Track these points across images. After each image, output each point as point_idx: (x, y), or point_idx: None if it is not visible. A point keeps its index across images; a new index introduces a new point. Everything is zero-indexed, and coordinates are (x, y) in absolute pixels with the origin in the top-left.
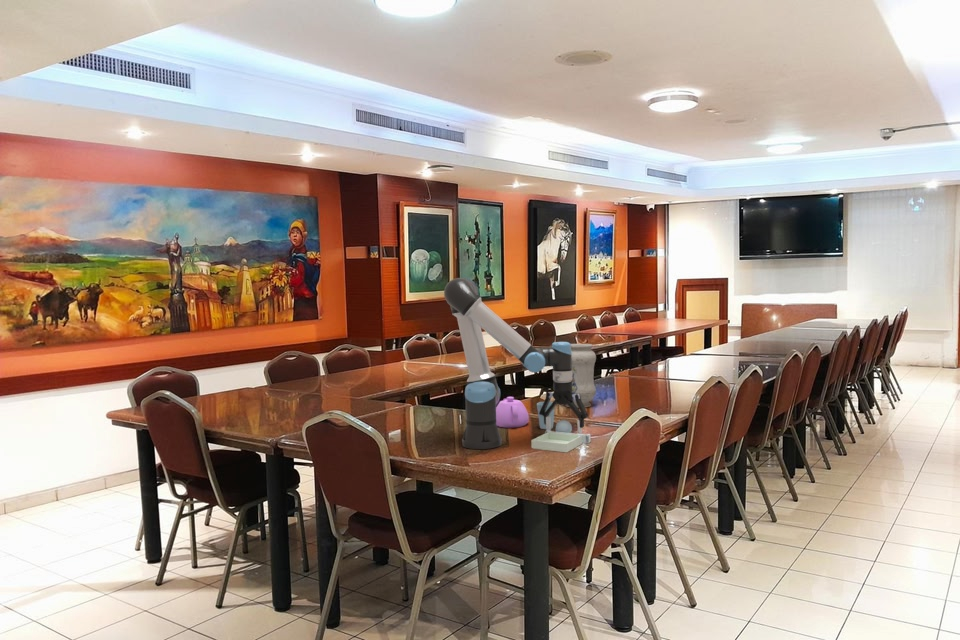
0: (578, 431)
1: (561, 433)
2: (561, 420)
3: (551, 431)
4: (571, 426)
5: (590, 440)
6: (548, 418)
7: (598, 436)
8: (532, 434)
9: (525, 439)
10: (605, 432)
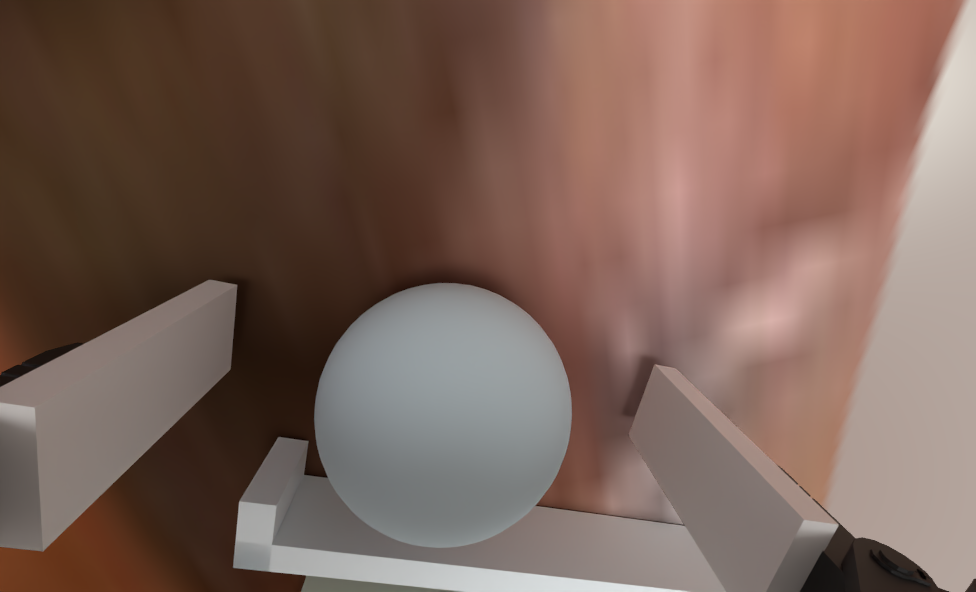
0: (663, 474)
1: (467, 585)
2: (403, 493)
3: (321, 560)
4: (571, 416)
5: None
6: (74, 482)
7: (841, 269)
8: (13, 336)
9: (69, 561)
10: (955, 24)
